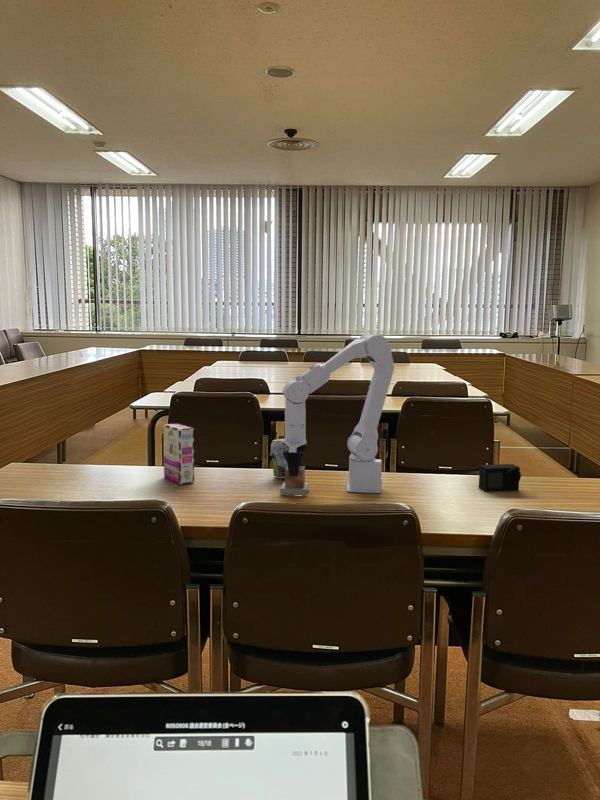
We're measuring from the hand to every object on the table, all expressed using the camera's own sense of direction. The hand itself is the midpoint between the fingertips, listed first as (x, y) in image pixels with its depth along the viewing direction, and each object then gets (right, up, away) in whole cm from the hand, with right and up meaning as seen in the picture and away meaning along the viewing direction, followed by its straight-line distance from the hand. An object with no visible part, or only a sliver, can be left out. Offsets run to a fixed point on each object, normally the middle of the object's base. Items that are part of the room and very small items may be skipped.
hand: (295, 472), depth 180 cm
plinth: (0, -6, +1) cm, 6 cm away
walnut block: (0, -4, 0) cm, 4 cm away
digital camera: (+59, -6, +6) cm, 59 cm away
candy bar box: (-35, -4, +13) cm, 37 cm away
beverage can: (-4, -4, +17) cm, 18 cm away
